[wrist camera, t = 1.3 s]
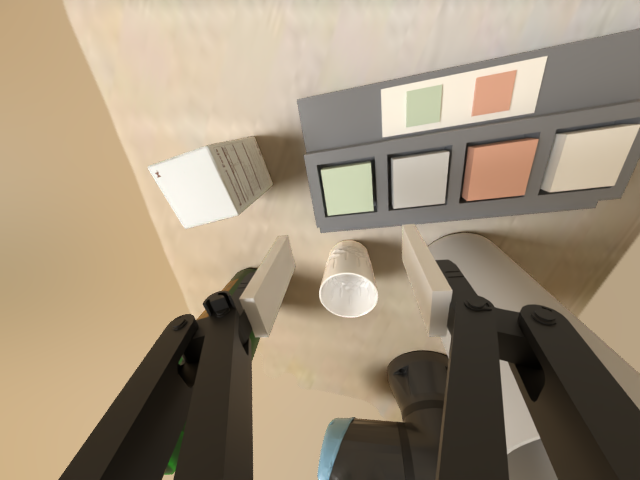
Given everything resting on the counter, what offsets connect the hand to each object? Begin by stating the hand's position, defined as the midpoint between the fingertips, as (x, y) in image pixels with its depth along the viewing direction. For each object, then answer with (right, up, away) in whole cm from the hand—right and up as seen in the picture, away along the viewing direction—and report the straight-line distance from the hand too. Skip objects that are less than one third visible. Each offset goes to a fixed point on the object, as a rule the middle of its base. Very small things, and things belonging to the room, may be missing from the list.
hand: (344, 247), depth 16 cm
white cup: (+3, -2, +23) cm, 23 cm away
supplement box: (-13, +11, +18) cm, 25 cm away
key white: (+27, +10, +9) cm, 30 cm away
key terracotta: (+19, +9, +11) cm, 23 cm away
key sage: (+2, +7, +14) cm, 16 cm away
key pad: (+15, +12, +14) cm, 23 cm away
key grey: (+10, +8, +12) cm, 18 cm away
